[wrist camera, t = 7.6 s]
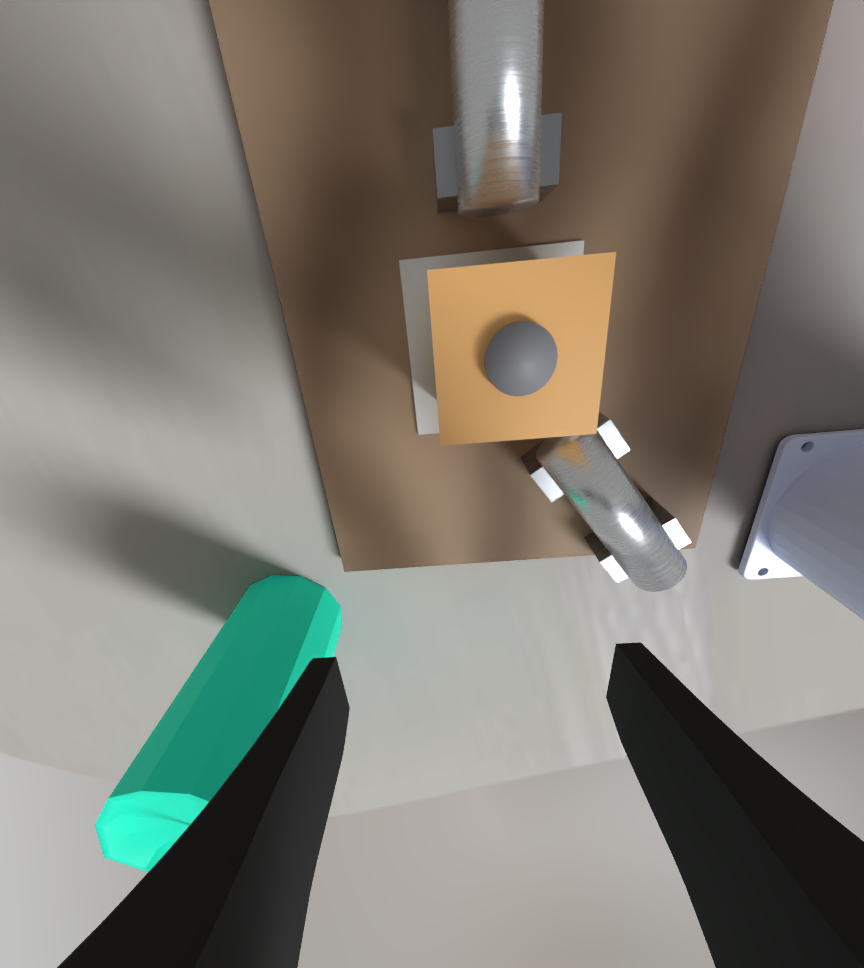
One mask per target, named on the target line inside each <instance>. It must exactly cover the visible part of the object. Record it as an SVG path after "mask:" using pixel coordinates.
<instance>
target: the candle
mask: <svg viewBox="0 0 864 968" xmlns="http://www.w3.org/2000/svg"><path fill="white" fill-rule="evenodd" d="M341 628H342V619H341V607H340V605H339V604H338V603H337V601H336V600H335V599H334V598H333V597H332V595H331V594H330V593H329V592H328V591H327V589H326V588H325V587H323V586H320V585H318V584H316V583H314V582H312V581H310V580H308V579H305V578H303V577H301V576H286V575H271V576H269V577H267V578H265V579H262V580H260V581H258V582H256V583H254V584H252V585H250V586H249V588H248V589H247V591H246V592H245V594H244V595H243V597H242V598H241V600H240V601H239V603H238V604H237V606H236V607H235V609H234V610H233V612H232V613H231V615H230V616H229V618H228V619H227V621H226V622H225V624H224V626H223V627H222V629H221V630H220V632H219V633H218V635H217V636H216V638H215V639H214V641H213V642H212V644H211V645H210V647H209V648H208V650H207V651H206V653H205V654H204V656H203V657H202V659H201V660H200V662H199V663H198V665H197V666H196V668H195V669H194V671H193V672H192V674H191V675H190V677H189V678H188V680H187V681H186V683H185V684H184V686H183V687H182V689H181V690H180V692H179V693H178V695H177V696H176V698H175V699H174V701H173V702H172V704H171V705H170V707H169V708H168V710H167V711H166V713H165V714H164V716H163V717H162V719H161V720H160V722H159V723H158V725H157V726H156V728H155V729H154V731H153V732H152V734H151V735H150V737H149V738H148V740H147V741H146V743H145V744H144V746H143V747H142V749H141V750H140V752H139V753H138V755H137V756H136V758H135V759H134V761H133V762H132V764H131V765H130V767H129V768H128V770H127V771H126V773H125V774H124V776H123V777H122V779H121V780H120V782H119V783H118V785H117V786H116V788H115V789H114V791H113V792H112V794H111V795H110V797H109V798H108V800H107V802H106V804H105V806H104V808H103V810H102V812H101V814H100V816H99V818H98V820H97V822H96V824H95V828H96V831H97V834H98V837H99V841H100V845H101V848H102V852H103V855H104V858H107V859H110V860H113V861H116V862H119V863H123V864H126V865H129V866H132V867H135V868H138V869H141V870H144V871H147V872H149V871H150V870H151V869H152V868H153V867H154V865H155V864H156V863H157V862H158V861H159V860H160V859H161V858H162V857H163V856H164V854H165V853H166V852H167V851H168V850H169V849H170V848H171V846H172V845H173V844H174V843H175V842H176V841H177V839H178V838H179V837H180V836H181V835H182V834H183V832H184V831H185V830H186V829H187V828H188V827H189V825H190V824H191V823H192V822H193V821H194V819H195V818H196V817H197V816H198V815H199V813H200V812H201V811H202V810H203V809H204V807H205V806H206V805H207V804H208V802H209V801H210V800H211V799H212V798H213V796H214V795H215V794H216V793H217V791H218V790H219V789H220V787H221V786H222V785H223V783H224V782H225V781H226V780H227V778H228V777H229V776H230V774H231V773H232V772H233V771H234V769H235V768H236V767H237V765H238V764H239V763H240V761H241V760H242V759H243V758H244V756H245V755H246V754H247V752H248V751H249V750H250V748H251V747H252V745H253V744H254V743H255V741H256V740H257V738H258V737H259V736H260V734H261V733H262V731H263V730H264V729H265V727H266V726H267V724H268V723H269V722H270V720H271V719H272V717H273V716H274V715H275V713H276V712H277V710H278V709H279V707H280V706H281V704H282V703H283V701H284V700H285V699H286V697H287V696H288V694H289V693H290V691H291V690H292V688H293V687H294V685H295V684H296V682H297V681H298V679H299V677H300V676H301V674H302V673H303V671H304V670H305V668H306V667H307V665H308V664H309V662H310V661H311V660H312V659H313V658H326V657H333V655H334V652H335V649H336V645H337V642H338V638H339V635H340V632H341Z"/></svg>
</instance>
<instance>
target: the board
mask: <svg viewBox="0 0 864 968" xmlns="http://www.w3.org/2000/svg"><path fill="white" fill-rule="evenodd" d="M833 1H834V0H544V28H543V68H542V107H541V115H546V114H554V113H562V122H561V145H560V168H559V184H558V185H557V186H556V187H555V188H554V189H553V190H552V191H551V192H550V193H549V194H548V195H547V196H546V197H545V198H544V199H543V200H542V201H540V202H538V203H537V204H536V205H534V206H532V207H530V208H527V209H525V210H521V211H518V212H514V213H509V214H504V215H497V216H489V217H466V216H462V215H460V214H459V213H458V211H451V212H442V213H437V203H436V188H435V174H434V160H433V128H441V127H449V126H454V119H453V99H452V79H451V59H450V39H449V19H448V0H209V4H210V8H211V13H212V17H213V21H214V25H215V29H216V34H217V38H218V42H219V46H220V50H221V55H222V59H223V63H224V67H225V71H226V76H227V80H228V84H229V88H230V92H231V97H232V101H233V105H234V109H235V113H236V118H237V122H238V126H239V130H240V135H241V139H242V143H243V147H244V151H245V156H246V160H247V164H248V168H249V172H250V177H251V181H252V185H253V189H254V193H255V198H256V202H257V206H258V210H259V214H260V219H261V223H262V227H263V231H264V235H265V240H266V244H267V248H268V252H269V256H270V261H271V265H272V269H273V273H274V277H275V282H276V286H277V290H278V294H279V298H280V303H281V307H282V311H283V315H284V320H285V324H286V328H287V332H288V336H289V341H290V345H291V349H292V353H293V357H294V362H295V366H296V370H297V374H298V378H299V383H300V387H301V391H302V395H303V399H304V404H305V408H306V412H307V416H308V420H309V425H310V429H311V433H312V437H313V441H314V446H315V450H316V454H317V458H318V462H319V467H320V471H321V475H322V479H323V483H324V488H325V492H326V496H327V500H328V504H329V509H330V513H331V517H332V521H333V526H334V530H335V534H336V538H337V542H338V547H339V551H340V555H341V559H342V563H343V568H344V572H348V571H362V570H377V569H392V568H407V567H422V566H437V565H451V564H466V563H481V562H496V561H511V560H526V559H540V558H555V557H570V556H585V555H595V554H594V552H593V551H592V549H591V548H590V546H589V545H588V543H587V541H586V540H585V538H584V537H586V536H587V535H589V534H591V533H592V532H593V530H592V529H591V528H590V527H589V525H588V524H587V523H586V521H585V520H584V519H583V518H582V516H581V515H580V514H579V512H578V511H577V510H576V509H575V507H574V506H573V505H572V503H571V502H570V501H569V500H568V498H567V497H566V496H565V494H563V495H562V496H560V497H559V498H557V499H556V500H554V501H553V502H551V501H550V499H549V498H548V497H547V496H546V494H545V493H544V492H543V491H542V489H541V488H540V487H539V486H538V484H537V483H536V482H535V481H534V479H533V478H532V477H531V476H530V474H529V472H528V470H527V469H526V467H525V465H524V463H523V461H522V460H521V458H520V457H521V456H523V455H524V454H525V453H527V452H528V451H530V450H531V449H532V448H534V447H535V446H537V445H538V444H539V443H541V442H542V441H543V440H545V439H546V438H536V439H523V440H510V441H496V442H483V443H470V444H456V445H443V446H441V445H440V432H439V419H438V406H437V394H436V381H435V368H434V355H433V342H432V329H431V316H430V303H429V290H428V278H427V270H433V269H443V268H454V267H464V266H474V265H485V264H495V263H505V262H516V261H526V260H537V259H547V258H557V257H568V256H578V255H588V254H599V253H609V252H616V259H615V269H614V278H613V287H612V296H611V305H610V314H609V324H608V333H607V342H606V351H605V360H604V369H603V379H602V388H601V397H600V406H599V412H600V413H602V414H603V415H605V416H606V417H608V418H609V419H611V421H612V422H613V424H614V425H615V427H616V428H617V430H618V431H619V433H620V435H621V436H622V438H623V439H624V441H625V442H626V444H627V445H628V447H629V448H630V451H628V452H627V453H625V454H624V455H622V456H621V457H619V458H618V459H617V460H618V461H619V463H620V464H621V466H622V467H623V469H624V470H625V471H626V473H627V474H628V476H629V477H630V479H631V480H632V482H633V483H634V485H635V486H636V488H637V489H638V491H639V492H640V493H641V495H642V496H643V498H644V499H645V500H646V499H648V498H649V497H652V498H653V499H654V500H656V501H657V502H658V503H659V504H660V505H661V506H662V507H663V508H665V509H666V510H667V511H668V512H669V513H670V514H671V515H673V516H674V517H675V518H676V520H677V521H678V523H679V524H680V526H681V527H682V529H683V530H684V532H685V533H686V535H687V536H688V538H689V539H690V541H691V543H689V544H687V545H686V546H684V547H682V548H680V549H689V548H695V547H696V543H697V539H698V535H699V531H700V527H701V523H702V520H703V516H704V512H705V508H706V504H707V500H708V496H709V492H710V488H711V484H712V480H713V476H714V472H715V468H716V464H717V460H718V456H719V452H720V448H721V444H722V440H723V436H724V433H725V429H726V425H727V421H728V417H729V413H730V409H731V405H732V401H733V397H734V393H735V389H736V385H737V381H738V377H739V373H740V369H741V365H742V361H743V357H744V353H745V349H746V346H747V342H748V338H749V334H750V330H751V326H752V322H753V318H754V314H755V310H756V306H757V302H758V298H759V294H760V290H761V286H762V282H763V278H764V274H765V270H766V266H767V262H768V259H769V255H770V251H771V247H772V243H773V239H774V235H775V231H776V227H777V223H778V219H779V215H780V211H781V207H782V203H783V199H784V195H785V191H786V187H787V183H788V179H789V175H790V172H791V168H792V164H793V160H794V156H795V152H796V148H797V144H798V140H799V136H800V132H801V128H802V124H803V120H804V116H805V112H806V108H807V104H808V100H809V96H810V92H811V88H812V85H813V81H814V77H815V73H816V69H817V65H818V61H819V57H820V53H821V49H822V45H823V41H824V37H825V33H826V29H827V25H828V21H829V17H830V13H831V9H832V5H833Z"/></svg>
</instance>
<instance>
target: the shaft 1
mask: <svg viewBox="0 0 864 968" xmlns="http://www.w3.org/2000/svg"><path fill="white" fill-rule="evenodd" d="M448 19H449V39H450V59H451V79H452V99H453V119H454V126H449V127H441V128H433V160H434V174H435V188H436V203H437V213H442V212H451V211H458V213H459V214H460V215H462V216H466V217H489V216H497V215H504V214H509V213H514V212H518V211H521V210H525V209H527V208H530V207H532V206H534V205H536V204H537V203H538V202H540V201H542V200H543V199H544V198H545V197H546V196H547V195H548V194H549V193H550V192H551V191H552V190H553V189H554V188H555V187H556V186H557V185H558V184H559V168H560V145H561V122H562V113H554V114H546V115H541V107H542V68H543V28H544V0H448Z"/></svg>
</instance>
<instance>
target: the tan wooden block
mask: <svg viewBox="0 0 864 968" xmlns="http://www.w3.org/2000/svg"><path fill="white" fill-rule="evenodd" d="M615 259H616V252H609V253H599V254H588V255H578V256H568V257H557V258H547V259H537V260H526V261H516V262H505V263H495V264H485V265H474V266H464V267H454V268H443V269H433V270H427V278H428V290H429V303H430V316H431V329H432V342H433V355H434V368H435V381H436V394H437V406H438V419H439V432H440V445H441V446H443V445H456V444H470V443H483V442H496V441H510V440H523V439H536V438H549V437H563V436H576V435H589V434H597V424H598V415H599V406H600V397H601V388H602V379H603V369H604V360H605V351H606V342H607V333H608V324H609V314H610V305H611V296H612V287H613V278H614V269H615Z"/></svg>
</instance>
